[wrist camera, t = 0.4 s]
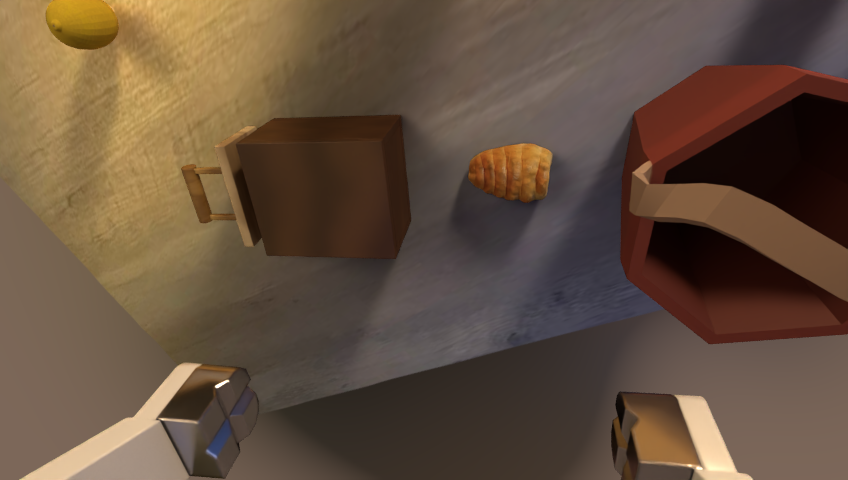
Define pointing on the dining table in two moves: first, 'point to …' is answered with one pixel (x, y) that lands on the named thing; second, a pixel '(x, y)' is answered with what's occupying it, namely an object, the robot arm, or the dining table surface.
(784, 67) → the bucket
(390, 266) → the dining table surface
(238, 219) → the drawer
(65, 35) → the lemon
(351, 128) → the cabinet
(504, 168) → the pastry
